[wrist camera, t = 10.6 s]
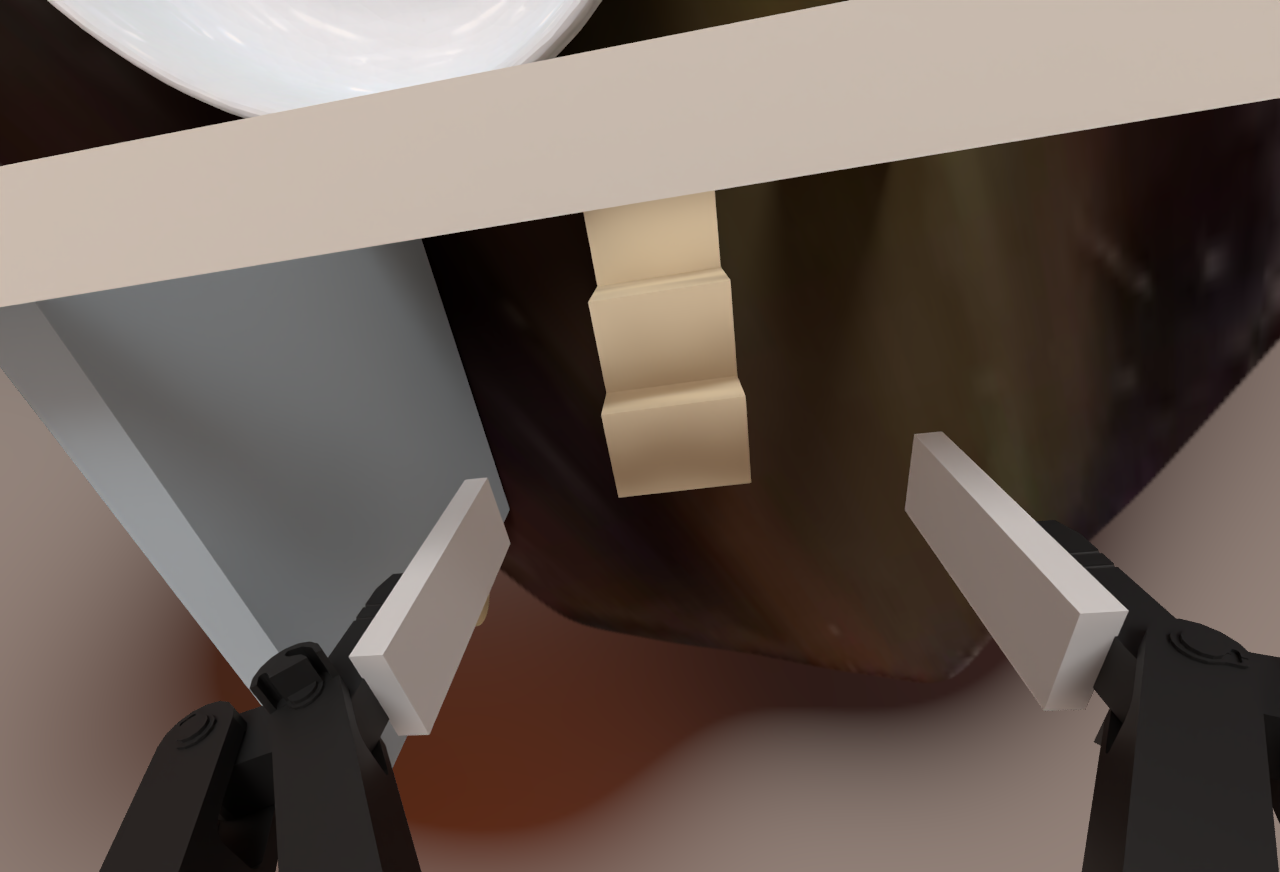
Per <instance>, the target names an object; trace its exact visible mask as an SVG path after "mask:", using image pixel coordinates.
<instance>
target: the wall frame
mask: <svg viewBox="0 0 1280 872" xmlns="http://www.w3.org/2000/svg"><path fill="white" fill-rule="evenodd" d="M1276 98H1280V0H849V1H844V2H839V3H834V4H829V5H824V6H819V7H814V8H808V9H803V10H798V11H793V12H788V13H783V14H778V15H773V16H768V17H762V18H757V19H752V20H747V21H742V22H737V23H732V24H727V25H721V26H716V27H711V28H706V29H701V30H696V31H691V32H686V33H681V34H675V35H670V36H665V37H660V38H655V39H650V40H645V41H640V42H635V43H629V44H624V45H619V46H614V47H609V48H604V49H599V50H594V51H588V52H583V53H578V54H573V55H568V56H563V57H558V58H553V59H548V60H542V61H537V62H532V63H527V64H522V65H517V66H512V67H507V68H501V69H496V70H491V71H486V72H481V73H476V74H471V75H466V76H461V77H455V78H450V79H445V80H440V81H435V82H430V83H425V84H420V85H414V86H409V87H404V88H399V89H394V90H389V91H384V92H379V93H374V94H368V95H363V96H358V97H353V98H348V99H343V100H338V101H333V102H327V103H322V104H317V105H312V106H307V107H302V108H297V109H292V110H287V111H281V112H276V113H271V114H266V115H261V116H256V117H251V118H246V119H241V120H235V121H230V122H225V123H220V124H215V125H210V126H205V127H200V128H194V129H189V130H184V131H179V132H174V133H169V134H164V135H159V136H154V137H148V138H143V139H138V140H133V141H128V142H123V143H118V144H113V145H107V146H102V147H97V148H92V149H87V150H82V151H77V152H72V153H67V154H61V155H56V156H51V157H46V158H41V159H36V160H31V161H26V162H20V163H15V164H10V165H5V166H0V307H5V306H11V305H17V304H23V303H29V302H35V301H41V300H47V299H54V298H60V297H66V296H72V295H78V294H84V293H90V292H96V291H102V290H109V289H115V288H121V287H127V286H133V285H139V284H145V283H151V282H157V281H164V280H170V279H176V278H182V277H188V276H194V275H200V274H206V273H212V272H219V271H225V270H231V269H237V268H243V267H249V266H255V265H261V264H268V263H274V262H280V261H286V260H292V259H298V258H304V257H310V256H316V255H323V254H329V253H335V252H341V251H347V250H353V249H359V248H365V247H371V246H378V245H384V244H390V243H396V242H402V241H408V240H414V239H420V238H426V237H433V236H439V235H445V234H451V233H457V232H463V231H469V230H475V229H482V228H488V227H494V226H500V225H506V224H512V223H518V222H524V221H530V220H537V219H543V218H549V217H555V216H561V215H567V214H573V213H579V212H585V211H592V210H598V209H604V208H610V207H616V206H622V205H628V204H634V203H640V202H647V201H653V200H659V199H665V198H671V197H677V196H683V195H689V194H696V193H702V192H708V191H714V190H720V189H726V188H732V187H738V186H744V185H751V184H757V183H763V182H769V181H775V180H781V179H787V178H793V177H799V176H806V175H812V174H818V173H824V172H830V171H836V170H842V169H848V168H854V167H861V166H867V165H873V164H879V163H885V162H891V161H897V160H903V159H909V158H916V157H922V156H928V155H934V154H940V153H946V152H952V151H958V150H965V149H971V148H977V147H983V146H989V145H995V144H1001V143H1007V142H1013V141H1020V140H1026V139H1032V138H1038V137H1044V136H1050V135H1056V134H1062V133H1068V132H1075V131H1081V130H1087V129H1093V128H1099V127H1105V126H1111V125H1117V124H1123V123H1130V122H1136V121H1142V120H1148V119H1154V118H1160V117H1166V116H1172V115H1179V114H1185V113H1191V112H1197V111H1203V110H1209V109H1215V108H1221V107H1227V106H1234V105H1240V104H1246V103H1252V102H1258V101H1264V100H1270V99H1276Z"/></svg>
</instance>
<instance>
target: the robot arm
mask: <svg viewBox="0 0 1280 872" xmlns="http://www.w3.org/2000/svg"><path fill="white" fill-rule="evenodd" d="M905 511H906V512H907V514H908V515H909V517H910V518H911V520H912V521H913V523H914V524H915V525H916V527H917V528H918V530H919V531H920V533H921V534H922V536H923V537H924V538H925V540H926V541H927V543H928V544H929V546H930V547H931V549H932V550H933V551H934V553H935V554H936V556H937V557H938V559H939V560H940V562H941V563H942V564H943V566H944V567H945V569H946V570H947V572H948V573H949V575H950V576H951V577H952V579H953V580H954V582H955V583H956V585H957V586H958V588H959V589H960V590H961V592H962V593H963V595H964V596H965V598H966V599H967V601H968V602H969V603H970V605H971V606H972V608H973V609H974V611H975V612H976V614H977V615H978V616H979V618H980V619H981V621H982V622H983V624H984V625H985V627H986V628H987V629H988V631H989V632H990V634H991V635H992V637H993V638H994V640H995V641H996V642H997V644H998V645H999V647H1000V648H1001V650H1002V651H1003V653H1004V654H1005V655H1006V657H1007V658H1008V660H1009V661H1010V663H1011V664H1012V666H1013V667H1014V668H1015V670H1016V671H1017V673H1018V674H1019V676H1020V677H1021V678H1022V680H1023V682H1024V683H1025V684H1026V686H1027V687H1028V689H1029V690H1030V692H1031V693H1032V694H1033V696H1034V697H1035V699H1036V700H1037V702H1038V703H1039V704H1040V706H1041V707H1042V709H1043V710H1044V711H1054V710H1079V709H1080V710H1081V709H1086V707H1087V705H1088V703H1089V700H1090V698H1091V696H1092V694H1093V691H1094V690H1095V691H1096V692H1097V693H1098V695H1099V696H1100V697H1101V698H1102V699H1103V701H1104V702H1105V703H1106V704H1107V705H1108V707H1109V708H1110V709H1109V711H1108V713H1107V715H1106V717H1105V720H1104V722H1103V724H1102V726H1101V728H1100V730H1099V732H1098V734H1097V736H1096V739H1095V741H1094V742H1095V743H1097V744H1099V745H1101V748H1100V755H1099V762H1098V768H1097V775H1096V781H1095V788H1094V794H1093V801H1092V808H1091V814H1090V821H1089V827H1088V834H1087V841H1086V848H1085V855H1084V861H1083V868H1082V872H1279V869H1278V860H1277V859H1278V858H1277V848H1276V838H1275V828H1274V819H1273V818H1274V817H1273V809H1274V812H1275V814H1276V816H1277V818H1278V821H1279V823H1280V657H1273V656H1268V655H1261V654H1256V653H1251V652H1248V651H1247V650H1246V649H1245V648H1243V646H1241V645H1240V644H1239V643H1238V642H1236V641H1234V640H1233V639H1231V638H1229V637H1228V636H1226V635H1225V634H1223V633H1221V632H1219V631H1217V630H1214V629H1212V628H1209V627H1207V626H1205V625H1202V624H1199V623H1195V622H1191V621H1187V620H1183V619H1176V618H1175V617H1174V616H1172V615H1171V614H1170V613H1169V612H1168V611H1167V610H1166V609H1164V608H1163V607H1162V606H1161V605H1160V604H1159V603H1158V602H1156V601H1155V600H1154V599H1153V598H1152V597H1151V596H1150V595H1149V594H1148V593H1146V592H1145V591H1144V590H1143V589H1142V588H1141V587H1140V586H1139V585H1137V584H1136V583H1135V582H1134V581H1133V580H1132V579H1131V578H1129V577H1128V576H1127V575H1126V574H1125V573H1124V572H1123V571H1122V570H1120V569H1119V568H1118V567H1114V563H1113V562H1111V561H1110V560H1109V559H1108V558H1107V557H1106V556H1105V555H1104V554H1102V553H1099V551H1098V549H1097V548H1096V547H1095V546H1093V545H1092V544H1091V543H1090V542H1089V541H1088V540H1087V539H1085V538H1084V537H1083V536H1082V535H1081V534H1080V533H1078V532H1076V531H1074V530H1072V529H1070V528H1068V527H1067V526H1065V525H1063V524H1061V523H1059V522H1057V521H1055V520H1049V521H1037V522H1036V521H1035V520H1034V519H1033V518H1032V517H1031V516H1030V515H1028V514H1027V513H1026V512H1025V511H1024V510H1023V509H1022V508H1021V507H1020V506H1019V505H1018V504H1017V503H1016V502H1015V501H1014V500H1013V499H1012V498H1011V497H1010V496H1009V495H1008V494H1007V493H1006V492H1005V491H1003V490H1002V489H1001V488H1000V487H999V486H998V485H997V484H996V483H995V482H994V481H993V480H992V479H991V478H990V477H989V476H988V475H987V474H986V473H985V472H984V471H983V470H982V469H981V468H980V467H978V466H977V465H976V464H975V463H974V462H973V461H972V460H971V459H970V458H969V457H968V456H967V455H966V454H965V453H964V452H963V451H962V450H961V449H960V448H959V447H958V446H957V445H956V444H955V443H953V442H952V441H951V440H950V439H949V438H948V437H947V436H946V435H945V434H944V433H943V432H932V433H922V434H914V441H913V449H912V457H911V465H910V473H909V480H908V488H907V496H906V504H905ZM509 546H510V541H509V538H508V535H507V532H506V529H505V526H504V523H503V521H502V518H501V515H500V512H499V509H498V506H497V503H496V500H495V498H494V495H493V492H492V489H491V486H490V483H489V480H488V478H477V479H467V480H465V481H464V482H463V484H462V485H461V487H460V488H459V490H458V491H457V493H456V494H455V496H454V497H453V499H452V500H451V502H450V503H449V505H448V506H447V508H446V509H445V511H444V512H443V514H442V515H441V517H440V519H439V520H438V522H437V523H436V525H435V526H434V528H433V529H432V531H431V532H430V534H429V535H428V537H427V538H426V540H425V541H424V543H423V544H422V546H421V547H420V549H419V550H418V552H417V553H416V555H415V557H414V558H413V560H412V561H411V563H410V564H409V566H408V567H407V569H406V570H405V572H404V573H397V574H392V575H391V576H390V577H389V578H388V579H386V580H385V581H384V582H383V583H382V584H381V585H380V586H378V587H377V588H376V589H375V591H374V592H373V594H372V595H371V597H370V598H369V600H368V601H367V602H366V604H365V607H363V608H362V610H361V611H360V612H359V614H358V615H357V617H356V621H353V622H352V624H351V625H350V627H349V628H348V630H347V631H346V632H345V634H344V635H343V637H342V638H341V640H340V641H339V642H338V644H337V645H336V647H335V648H334V650H333V651H332V652H331V654H330V655H329V657H327V656H326V654H325V653H324V651H323V650H322V648H321V647H320V645H319V644H318V643H314V642H310V641H309V642H303V643H298V644H295V645H293V646H290V647H288V648H286V649H284V650H282V651H281V652H279V653H278V654H276V655H274V656H273V657H271V658H270V659H269V660H268V661H267V662H266V663H265V664H264V665H263V666H262V667H260V669H259V670H258V671H257V673H256V674H255V676H254V677H253V678H252V681H251V685H250V688H249V689H250V690H251V692H252V693H253V694H254V695H255V696H256V698H257V699H258V700H259V701H260V703H261V704H262V705H263V706H261V707H258V708H255V709H252V710H249V711H246V712H243V713H240V714H239V713H238V712H237V711H236V710H235V708H234V707H233V706H232V705H231V704H230V703H229V702H222V701H219V702H215V703H211V704H208V705H205V706H203V707H201V708H199V709H197V710H196V711H193V712H192V713H190V714H189V715H188V716H186V717H185V718H184V719H182V720H181V721H179V722H178V723H177V724H176V725H175V726H174V727H173V728H172V729H171V730H170V731H169V732H168V733H167V734H166V735H165V737H164V738H163V740H162V741H161V743H160V744H159V746H158V747H157V749H156V752H155V754H154V756H153V758H152V760H151V762H150V765H149V766H148V769H147V771H146V773H145V775H144V777H143V779H142V782H141V784H140V786H139V788H138V790H137V792H136V794H135V796H134V798H133V801H132V803H131V805H130V807H129V809H128V811H127V813H126V815H125V818H124V820H123V822H122V824H121V826H120V828H119V830H118V833H117V835H116V837H115V839H114V841H113V843H112V846H111V848H110V850H109V852H108V854H107V856H106V858H105V860H104V862H103V865H102V867H101V869H100V871H99V872H275V871H276V866H277V861H278V868H279V872H421V869H420V865H419V862H418V858H417V855H416V851H415V848H414V844H413V840H412V837H411V834H410V830H409V826H408V823H407V819H406V816H405V812H404V809H403V805H402V802H401V798H400V794H399V791H398V788H397V784H396V780H395V777H394V773H393V770H392V766H391V762H390V759H389V755H388V752H387V748H386V745H385V743H384V742H383V740H382V739H381V735H382V733H383V731H384V729H385V727H386V725H387V723H388V721H389V722H390V723H391V725H392V726H393V728H394V730H395V731H396V733H397V734H398V736H404V735H429V734H430V731H431V729H432V727H433V724H434V722H435V720H436V717H437V715H438V713H439V710H440V708H441V706H442V703H443V701H444V699H445V696H446V694H447V692H448V689H449V687H450V685H451V682H452V680H453V677H454V675H455V673H456V670H457V668H458V666H459V663H460V661H461V659H462V656H463V654H464V651H465V649H466V647H467V644H468V642H469V640H470V637H471V635H472V633H473V630H474V628H475V626H476V623H477V621H478V619H479V616H480V614H481V611H482V609H483V607H484V604H485V602H486V600H487V597H488V595H489V593H490V590H491V588H492V585H493V583H494V581H495V578H496V576H497V574H498V571H499V569H500V567H501V564H502V562H503V560H504V557H505V555H506V553H507V550H508V548H509Z"/></svg>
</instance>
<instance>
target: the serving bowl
mask: <svg viewBox="0 0 1280 872" xmlns="http://www.w3.org/2000/svg"><path fill="white" fill-rule="evenodd" d="M47 1H49V2H50V3H51V4H52V5H53V6H54V7H55V8H57V9H58V10H59V11H60V12H62V13H63V14H64V15H66V16H67V17H68V18H69V19H71V20H72V21H73V22H74V23H76V24H77V25H78V26H79V27H81V28H82V29H83V30H85V31H86V32H87V33H89V34H90V35H92V36H93V37H94V38H96V39H97V40H98V41H100V42H101V43H102V44H104V45H105V46H107V47H108V48H110V49H111V50H113V51H114V52H116V53H117V54H119V55H120V56H122V57H123V58H125V59H126V60H128V61H129V62H131V63H132V64H134V65H135V66H137V67H139V68H140V69H142V70H144V71H145V72H147V73H149V74H150V75H152V76H154V77H155V78H157V79H159V80H161V81H162V82H164V83H166V84H168V85H169V86H171V87H173V88H175V89H177V90H179V91H181V92H183V93H185V94H187V95H189V96H192V97H194V98H196V99H198V100H200V101H203V102H205V103H207V104H209V105H212V106H214V107H216V108H219V109H221V110H223V111H226V112H228V113H231V114H234V115H237V116H240V117H243V118H251V117H256V116H261V115H266V114H271V113H276V112H281V111H287V110H292V109H297V108H302V107H307V106H312V105H317V104H322V103H327V102H333V101H338V100H343V99H348V98H353V97H358V96H363V95H368V94H374V93H379V92H384V91H389V90H394V89H399V88H404V87H409V86H414V85H420V84H425V83H430V82H435V81H440V80H445V79H450V78H455V77H461V76H466V75H471V74H476V73H481V72H486V71H491V70H496V69H501V68H507V67H512V66H517V65H522V64H527V63H532V62H537V61H542V60H548V59H553V58H555V57H556V56H557V55H558V54H559V53H560V52H561V51H562V50H563V49H564V48H565V47H566V46H567V45H568V44H569V43H570V42H571V41H572V39H573V38H574V37H575V36H576V35H577V34H578V33H579V31H580V30H581V29H582V28H583V26H584V25H585V24H586V22H587V21H588V20H589V18H590V17H591V16H592V14H593V13H594V11H595V10H596V9H597V7H598V6H599V4H600V3H601V1H602V0H47Z"/></svg>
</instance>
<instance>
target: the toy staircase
mask: <svg viewBox="0 0 1280 872" xmlns="http://www.w3.org/2000/svg"><path fill="white" fill-rule="evenodd" d="M583 213H584V218H585V223H586V229H587V234H588V239H589V244H590V250H591V255H592V260H593V265H594V271H595V276H596V281H597V288H596V290H595V291H594V293H593V295H592V296H591V298H590V300H589V302H588V304H589V309H590V314H591V319H592V324H593V329H594V334H595V339H596V344H597V349H598V354H599V359H600V363H601V368H602V373H603V378H604V383H605V388H606V397H605V401H604V405H603V409H602V414H601V417H602V421H603V426H604V431H605V436H606V440H607V445H608V450H609V454H610V459H611V464H612V469H613V473H614V478H615V483H616V488H617V492H618V497H619V498H620V497H628V496H637V495H646V494H655V493H664V492H673V491H682V490H691V489H700V488H709V487H718V486H726V485H735V484H744V483H751V473H750V457H749V442H748V426H747V411H746V396H745V394H744V391H743V389H742V386H741V384H740V381H739V379H738V376H737V366H736V352H735V338H734V324H733V310H732V296H731V282H730V279H729V278H728V276H727V275H726V274H725V272H724V271H723V269H722V268H721V265H720V253H719V240H718V227H717V215H716V202H715V190H714V191H708V192H702V193H696V194H689V195H683V196H677V197H671V198H665V199H659V200H653V201H647V202H640V203H634V204H628V205H622V206H616V207H610V208H604V209H598V210H592V211H585V212H583Z"/></svg>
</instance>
